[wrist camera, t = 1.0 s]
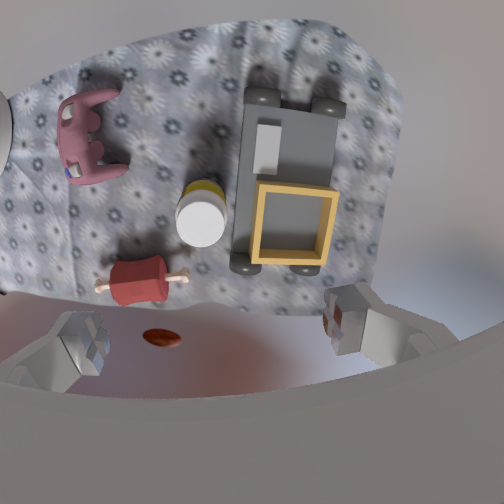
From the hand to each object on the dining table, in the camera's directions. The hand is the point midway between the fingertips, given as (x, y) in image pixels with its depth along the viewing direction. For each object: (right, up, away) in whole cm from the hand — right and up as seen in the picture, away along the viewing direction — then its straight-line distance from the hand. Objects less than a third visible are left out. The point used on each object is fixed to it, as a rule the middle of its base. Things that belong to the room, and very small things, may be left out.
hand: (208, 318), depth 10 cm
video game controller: (-15, +15, +17) cm, 27 cm away
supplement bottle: (-4, +8, +21) cm, 23 cm away
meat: (-12, 0, +24) cm, 26 cm away
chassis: (+5, +10, +21) cm, 24 cm away
